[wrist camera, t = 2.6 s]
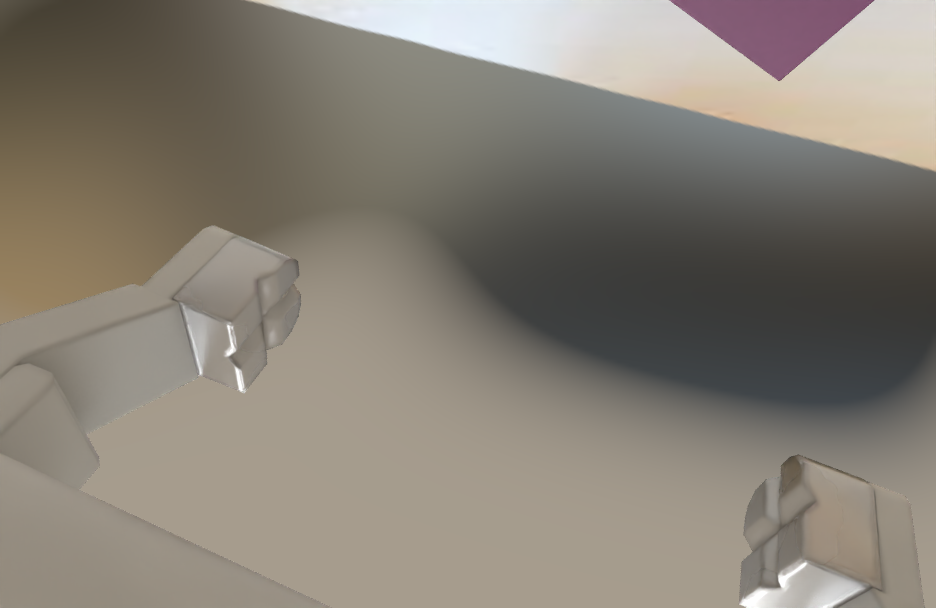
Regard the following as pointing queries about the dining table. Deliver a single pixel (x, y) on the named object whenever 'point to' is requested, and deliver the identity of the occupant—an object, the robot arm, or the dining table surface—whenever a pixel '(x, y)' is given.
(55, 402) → the robot arm
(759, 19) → the box file lid
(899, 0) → the dining table surface
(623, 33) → the dining table surface
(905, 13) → the dining table surface
